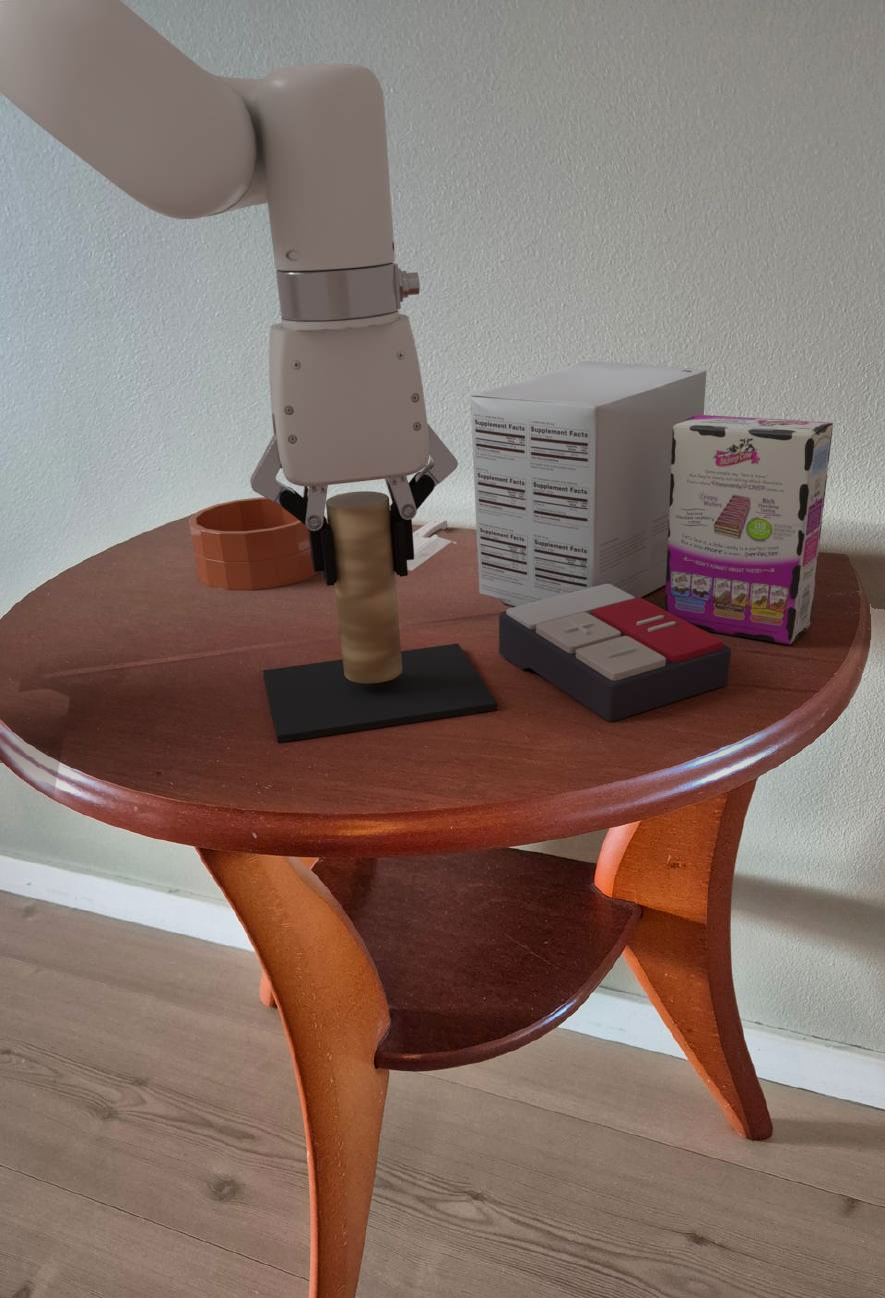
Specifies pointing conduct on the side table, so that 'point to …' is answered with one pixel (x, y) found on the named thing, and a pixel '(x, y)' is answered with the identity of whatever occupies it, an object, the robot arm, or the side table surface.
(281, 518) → the crock
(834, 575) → the side table surface
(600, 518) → the supplement box
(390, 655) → the pestle
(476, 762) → the side table surface
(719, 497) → the candy bar box
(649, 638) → the calculator
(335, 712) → the mat
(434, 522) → the butcher knife
